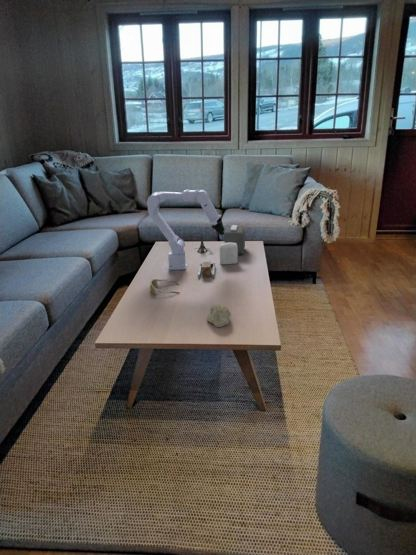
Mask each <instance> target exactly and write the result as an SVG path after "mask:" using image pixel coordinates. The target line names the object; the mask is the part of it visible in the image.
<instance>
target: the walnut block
mask: <svg viewBox="0 0 416 555" xmlns="http://www.w3.org/2000/svg"><path fill="white" fill-rule="evenodd" d="M211 263H212V262H211V261H202V262H201V264H202V270H201V277H202V278H212V277H211V275H212V269H211Z"/></svg>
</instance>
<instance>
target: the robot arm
mask: <svg viewBox="0 0 416 555" xmlns="http://www.w3.org/2000/svg"><path fill="white" fill-rule="evenodd" d="M166 200H182V201H183V202H198V203H199V204H200V205H201V208H202V210H203V212H204V214H205V215H206V217H207V218H208V221H209V222H210V223H211V224H212V225H211V228H212V229H213V230H215V231H216V232H217V233H218V234H219V236H223V235H224V234H225V227H224V224H223V221H222V220H223V219H222V214H219V213H218V211H217V210H216V208H215V206H214V203H213V202H212V200H211V199H210V197H209V194H208V192H207V191H206V190H205V189H195V190H194V189H193V190H190V189H189V188H187V189H185V190H183V191H182V192H176V191H154V192H152V193H151V195H149V196H148V197H147V201H146V206H147V212H148V216H149V217H150V218H151V219H152V221H153V222H154V223H155V225H156V227H157V228H158V230H160V232H161V233H162V234H163V236H164V237H165V239H167V241H168V242H167V243H168V245H169V247H170V250H171V252H168V256H167V259H168V260H167V261H168V270H169V271H170V270H171V271H173V270H174V271H175V270H176V271H177V270H180V271H181V270H187V268H188V267H187V266H188V263H187V262H186V251H185V250H184V247H185V245H186V242H185V241H184V239H182V238H180V237H179V235H177V234H175V232H174V230H173V229H172V228H171V226H170V225H169V224H168V222H167V220H165V219H164V216H162V214H161V213H160V212H159V211H160V205H161V203H164V202H165V201H166Z"/></svg>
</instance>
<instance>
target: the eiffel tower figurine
mask: <svg viewBox="0 0 416 555" xmlns="http://www.w3.org/2000/svg"><path fill="white" fill-rule="evenodd" d="M199 245H200V246H199V247H198V248H193V250H197V251H196V253H200V254H205V253H207V252H208V255H210V256H211V255H212V256H213V255H214V253H213V251H212V250H211V249H210V248H207V247H206V246H205V243H204V240H203V232H201V234H200V244H199Z"/></svg>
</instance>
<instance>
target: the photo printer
mask: <svg viewBox="0 0 416 555" xmlns="http://www.w3.org/2000/svg"><path fill="white" fill-rule="evenodd" d="M238 256H239V255H238V247H237V244H236V243H231V242H229V243H225V242H224V243H221V244H219V264H220V265H233V264H234V265H235V264H238V262H239V261H238V259H239V258H238Z"/></svg>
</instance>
